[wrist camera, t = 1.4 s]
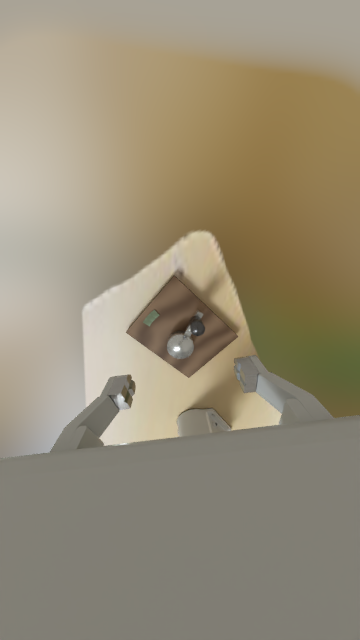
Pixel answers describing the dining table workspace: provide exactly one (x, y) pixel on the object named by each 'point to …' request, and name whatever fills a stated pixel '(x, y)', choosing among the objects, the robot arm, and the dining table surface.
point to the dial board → (180, 327)
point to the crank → (185, 338)
